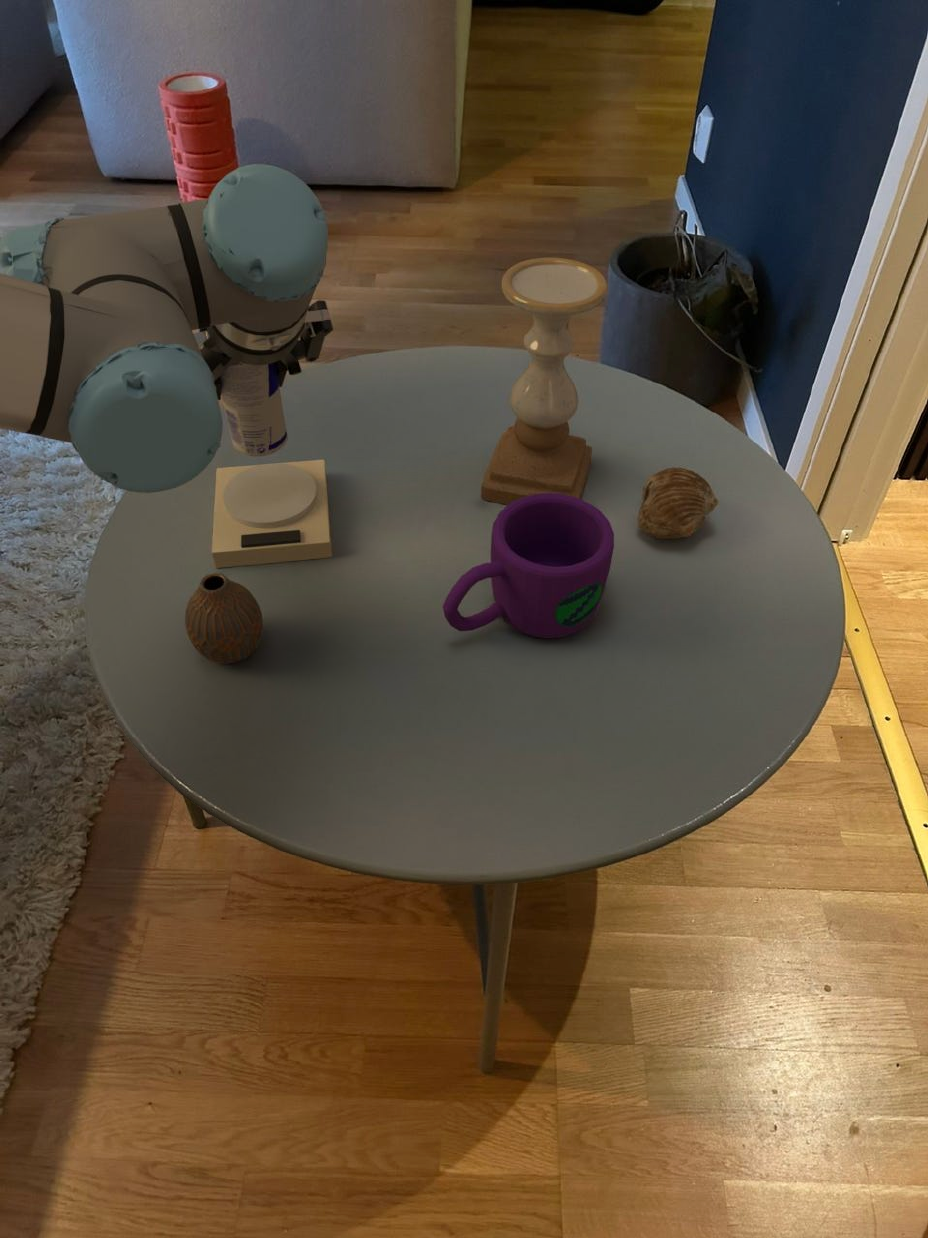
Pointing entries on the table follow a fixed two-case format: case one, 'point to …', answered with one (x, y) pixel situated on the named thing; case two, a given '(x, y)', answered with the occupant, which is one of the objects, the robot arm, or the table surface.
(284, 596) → the table surface
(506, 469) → the candle holder
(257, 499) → the kitchen scale
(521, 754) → the table surface
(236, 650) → the vase
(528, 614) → the mug
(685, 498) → the seashell
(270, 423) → the beverage can
